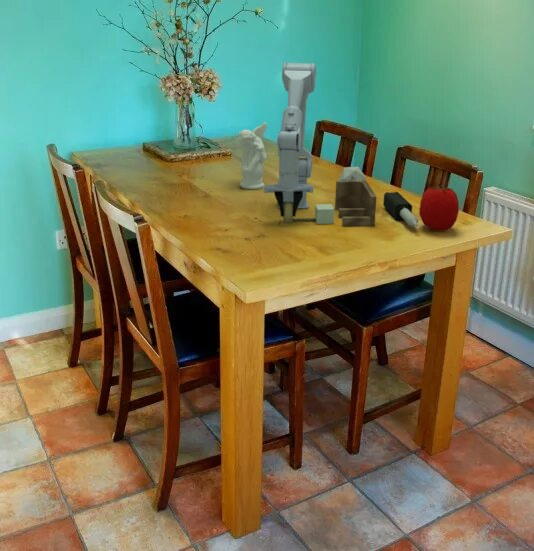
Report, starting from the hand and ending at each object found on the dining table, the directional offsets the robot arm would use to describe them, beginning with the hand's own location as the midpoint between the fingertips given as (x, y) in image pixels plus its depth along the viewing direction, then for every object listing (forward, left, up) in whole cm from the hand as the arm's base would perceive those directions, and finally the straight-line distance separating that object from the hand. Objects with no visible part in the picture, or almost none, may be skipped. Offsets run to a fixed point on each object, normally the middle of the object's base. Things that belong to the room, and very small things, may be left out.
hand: (288, 215), depth 208 cm
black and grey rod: (+34, +13, +1) cm, 36 cm away
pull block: (+6, 0, -2) cm, 6 cm away
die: (+24, +33, -2) cm, 41 cm away
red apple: (+43, -8, -2) cm, 44 cm away
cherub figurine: (-11, +40, -2) cm, 41 cm away
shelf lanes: (+20, +4, -2) cm, 20 cm away
